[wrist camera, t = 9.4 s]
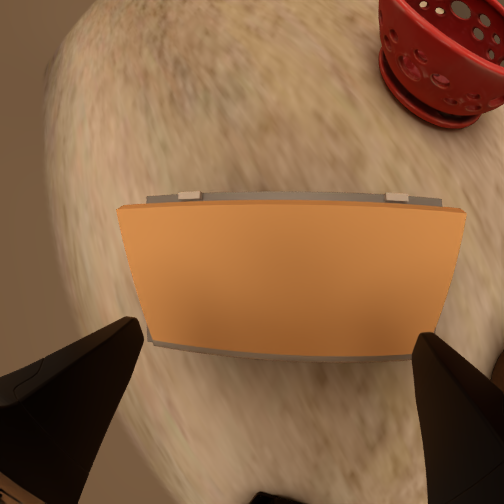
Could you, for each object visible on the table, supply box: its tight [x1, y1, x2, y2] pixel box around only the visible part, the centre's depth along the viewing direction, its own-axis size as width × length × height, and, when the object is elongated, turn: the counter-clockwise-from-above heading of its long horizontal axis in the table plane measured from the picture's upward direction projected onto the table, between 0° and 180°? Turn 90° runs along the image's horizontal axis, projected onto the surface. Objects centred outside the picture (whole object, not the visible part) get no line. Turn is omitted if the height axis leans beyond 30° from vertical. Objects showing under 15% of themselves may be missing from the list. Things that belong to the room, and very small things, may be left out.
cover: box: [116, 200, 467, 363], centre depth 16 cm, size 10×19×1 cm, turn 88°
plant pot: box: [379, 0, 504, 128], centre depth 14 cm, size 13×13×12 cm
